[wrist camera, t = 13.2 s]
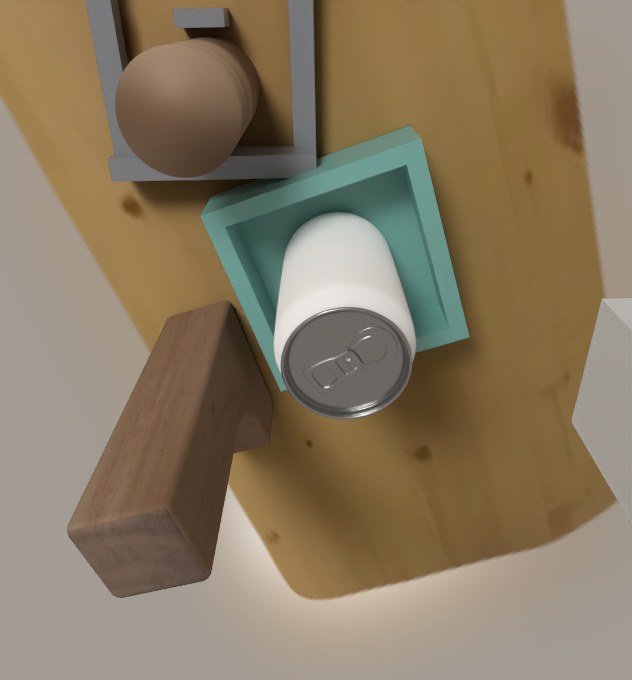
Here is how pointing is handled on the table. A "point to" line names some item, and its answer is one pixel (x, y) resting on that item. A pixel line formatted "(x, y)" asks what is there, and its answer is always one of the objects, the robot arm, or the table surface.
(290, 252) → the can
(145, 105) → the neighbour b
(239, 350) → the wooden block
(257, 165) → the grey flat open frame
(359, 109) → the table surface
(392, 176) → the tray
